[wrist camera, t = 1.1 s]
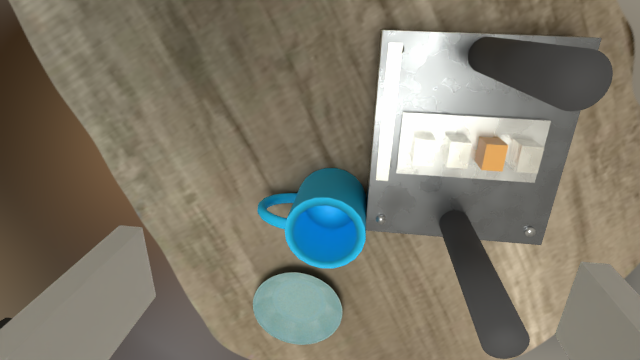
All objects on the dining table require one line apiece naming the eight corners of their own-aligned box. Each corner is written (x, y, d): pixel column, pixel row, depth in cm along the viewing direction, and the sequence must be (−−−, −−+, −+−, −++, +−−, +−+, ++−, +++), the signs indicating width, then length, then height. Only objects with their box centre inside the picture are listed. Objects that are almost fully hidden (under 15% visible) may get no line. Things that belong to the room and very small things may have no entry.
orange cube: (479, 136, 35) (486, 144, 33) (499, 137, 35) (508, 145, 33) (474, 161, 36) (481, 170, 34) (494, 162, 36) (502, 171, 34)
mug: (370, 172, 44) (371, 203, 37) (361, 233, 47) (360, 273, 40) (268, 159, 45) (248, 187, 37) (265, 220, 48) (246, 257, 41)
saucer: (357, 282, 50) (356, 294, 48) (324, 344, 55) (322, 357, 53) (273, 249, 50) (268, 259, 48) (246, 314, 54) (242, 326, 52)
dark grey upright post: (441, 209, 39) (485, 320, 25) (471, 211, 39) (534, 325, 24) (437, 234, 41) (476, 355, 26) (466, 237, 40) (523, 361, 26)
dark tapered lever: (470, 35, 33) (554, 47, 18) (507, 37, 33) (621, 49, 18) (464, 71, 34) (538, 109, 19) (499, 73, 34) (601, 113, 19)
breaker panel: (381, 29, 38) (384, 30, 31) (572, 36, 37) (623, 39, 29) (365, 209, 46) (365, 245, 39) (522, 221, 44) (554, 261, 37)
